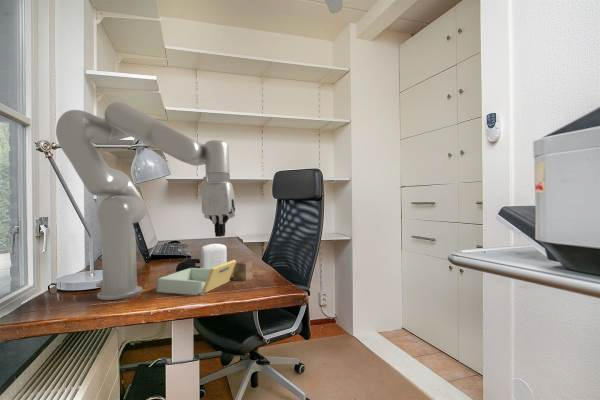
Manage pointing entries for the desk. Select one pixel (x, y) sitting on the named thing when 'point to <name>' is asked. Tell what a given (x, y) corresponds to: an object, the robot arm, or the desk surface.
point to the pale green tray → (184, 282)
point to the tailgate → (219, 275)
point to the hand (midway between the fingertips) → (220, 236)
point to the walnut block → (243, 270)
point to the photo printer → (213, 255)
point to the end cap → (187, 264)
